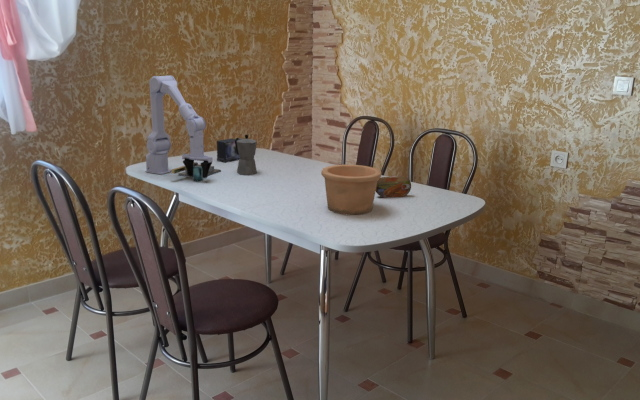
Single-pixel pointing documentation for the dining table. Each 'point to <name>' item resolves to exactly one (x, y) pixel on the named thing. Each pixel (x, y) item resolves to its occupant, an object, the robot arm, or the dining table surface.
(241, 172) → the coffeepot
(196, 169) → the teal glass cylinder
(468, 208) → the dining table surface
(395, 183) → the tin
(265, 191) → the dining table surface
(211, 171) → the dock
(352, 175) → the pottery
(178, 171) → the pin
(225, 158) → the small box
